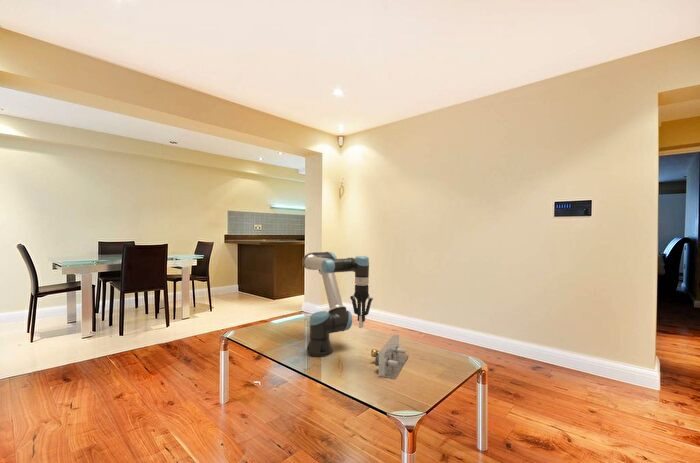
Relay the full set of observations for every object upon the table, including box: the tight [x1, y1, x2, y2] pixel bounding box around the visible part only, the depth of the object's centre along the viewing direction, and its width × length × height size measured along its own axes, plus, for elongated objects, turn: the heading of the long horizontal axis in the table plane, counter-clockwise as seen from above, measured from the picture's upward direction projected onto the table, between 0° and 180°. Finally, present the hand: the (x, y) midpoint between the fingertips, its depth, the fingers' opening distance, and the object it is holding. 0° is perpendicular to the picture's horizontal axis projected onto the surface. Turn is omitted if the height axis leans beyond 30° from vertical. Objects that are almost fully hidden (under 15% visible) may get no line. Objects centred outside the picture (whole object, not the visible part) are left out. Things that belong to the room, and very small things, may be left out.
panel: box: [378, 333, 409, 380], centre depth 169 cm, size 8×30×12 cm, turn 157°
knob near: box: [374, 356, 398, 367], centre depth 162 cm, size 11×5×5 cm, turn 67°
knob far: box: [396, 347, 407, 355], centre depth 178 cm, size 11×5×5 cm, turn 67°
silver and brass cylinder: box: [370, 348, 380, 358], centre depth 172 cm, size 11×4×4 cm, turn 67°
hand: (361, 327), depth 173 cm, fingers closed
